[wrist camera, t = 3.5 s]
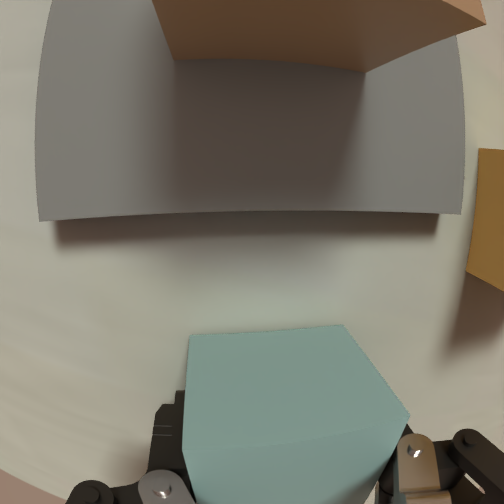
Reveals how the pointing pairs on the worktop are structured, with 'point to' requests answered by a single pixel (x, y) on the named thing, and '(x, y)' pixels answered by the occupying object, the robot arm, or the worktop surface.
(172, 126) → the baseplate
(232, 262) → the worktop surface
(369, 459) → the teal block
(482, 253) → the ochre block
